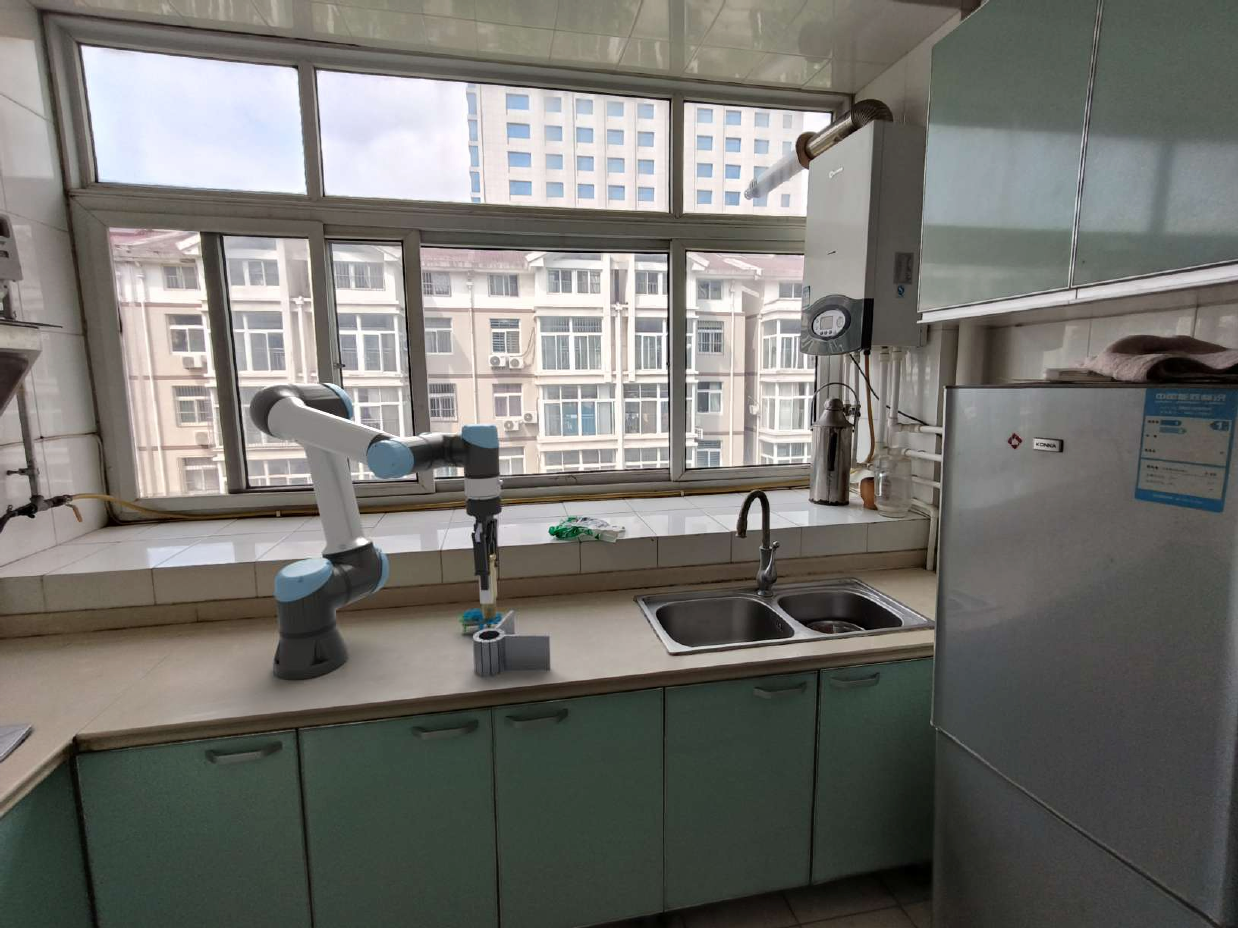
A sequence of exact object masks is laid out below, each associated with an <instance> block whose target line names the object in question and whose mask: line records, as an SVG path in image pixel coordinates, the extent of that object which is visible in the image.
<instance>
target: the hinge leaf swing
mask: <svg viewBox="0 0 1238 928" xmlns="http://www.w3.org/2000/svg"><path fill="white" fill-rule="evenodd" d="M494 628H496V629H501V630H503V631H504V632H505V633H506V634H516V633H515V631H516V630H515V611H514V610H510V611H508V613H506V615H505V616H504V617H503V618H502V620H501V621H500V622H499V621H498V624H496V625H495V626H494Z"/></svg>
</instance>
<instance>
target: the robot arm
mask: <svg viewBox="0 0 1238 928" xmlns="http://www.w3.org/2000/svg"><path fill="white" fill-rule="evenodd" d="M248 408H249V409H248V410H249V417H250V419H251V422H252V424H253V425H254V427H256V428H257V429H258V430H259V431H261V432H262V433H263V434H265V435H267V436H270V437H273V438H275V439H278V440H282V441H290V440H294V441H295V444H297V445H299V446H301V447H302V448H303V449H304V453H305V457H306V461H307V465H308V469H309V474H310V478H311V483H312V486H313V491H314V494H315V495H314V496H315V499H316V504H317V508H318V512H319V513H318V514H319V517H320V522H321V524H322V529H323V534H324V538H325V543H326V545H325V547H324V548H323V550H322V551H321V556H322V557H312V558H311V557H310V558H307V559H304V560H303V559H302V560H298V561H296V562H293V563H290V564H288V565H286V566H284V567H283V568H282V569H280V570H279V571H278V573H277V574H276V575H275V579H274V590H273V591H274V592H273V596H274V598H275V606H276V615H277V625H278V633H279V634H278V636H279V638H278V641H277V642H278V643H277V645H276V649H275V654H274V658H273V661H272V666H273V674H274V675H275V676H276V677H278V678H280V679H284V680H294V681H295V680H303V679H304V680H305V679H310V678H314V677H315V678H316V677H318V676H322V675H324V674H327V673H330V672H333V671H334V670H336V669H337V668H339V667H341V666H342V665H343V664H345V662H346V661H347V660H348V658H349V657H348V656H349V653H348V646H347V643H346V641H345V640H344V637H343V635H342V633H341V631H340V629H339V627H338V623H337V610H339V609H340V608H344V607H345V606H347V605H350V604H351V603H354V602H356V601H358V600H361V599H363V598H367V597H369V596H372V594H374V593H376V592H378V591H379V590H380V589H382V588H383V587H384V585H385V583H386V582H387V580H388V577H389V574H390V573H389V572H390V571H389V570H390V567H389V565H390V564H389V560H388V557H387V556H386V554H385V553H384V552H383V550H382V549H381V548H379V547H378V546H375V545H374V542H373V540H372V539H371V538H369V537H368V536H366V534H365V532H364V527H363V524H362V519H361V515H360V511H359V506H358V502H357V497H356V494H355V493H356V492H355V489H354V485H353V484H354V483H353V480H352V475H351V472H350V467H349V463H348V459H349V460H351V461H354V462H358V463H361V464H362V465H366V466H367V467H368V469H369V471H370V472H372V473H373V475H374V476H375V477H376V478H378V479H382V480H390V479H394V480H395V479H400V478H404V477H405V476H410V475H414V474H419V473H421V472H427V471H432V470H436V469H440V468H441V469H442V468H461V469H462V468H463V475H464V476H463V479H464V480H463V481H464V495H465V496H467V497H466V498H465V510H466V511H465V512H466V515H468V516H469V517H474V518H475V519H474V521H475V523H473V531H474V532H471V534H470V537H471V540H472V547H473V549H472V551H473V560H474V561H473V562H474V572H473V575H474V576H478V587H479V588H478V589H479V603H480V604H481V605H482V604H488V603H493V585H492V574H490V573H491V572H490V553H494V554H496V559H495V560H494V569H495V589H496V598H497V597H498V587H497V586H498V585H497V568H499V567H500V562H499V555H498V518H496V517H494V516H497V515H500V513H502V511H503V510H502V509H503V505H502V503H503V502H502V497H501V495H500V494H501V493H502V491H501V489H502V487H501V485H503V484H504V481H503V480H502V479H501V472H500V442H499V433H498V427H497V426H496V425H495V424H493V423H487V422H486V423H468V424H464V425H463V426H462V427H461V432H440V431H427V432H421V433H420V434H419V435H414V436H405V437H401V436H397V435H394V434H392V433H391V434H390V433H387V432H385V431H384V430H380V429H377V428H374V427H370V426H367V425H365V424H361V423H358V422H355V421H353V417H354V406H353V403H352V400H351V398H350V396H349V395H348V393H346V391H345V390H344V389H343V388H341V387H340V386H338V385H336V384H333V383H324V382H318V381H317V382H300V383H296V382H295V383H273V384H270V385H267V386H264V387H263V388H261V389H260V390H258V391H257V392H256V393H255V394H254V395H253V397H252V399H251V401H250V405H249V407H248Z"/></svg>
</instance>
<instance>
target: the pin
mask: <svg viewBox="0 0 1238 928" xmlns="http://www.w3.org/2000/svg"><path fill="white" fill-rule="evenodd" d="M495 559H496V554H494V553H490V572H491V573H490V574H492V585H493V603H488V604H481V606H482V607H481V608H482V611H483V618H484V619H494V618H496V617H497V614H498V612H497V597H496V589H495V569H494V568H495V567H494V560H495Z"/></svg>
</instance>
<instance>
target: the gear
mask: <svg viewBox="0 0 1238 928" xmlns="http://www.w3.org/2000/svg"><path fill="white" fill-rule="evenodd" d="M502 619H503V618H502V614H501V612H499V613H498V612H497V617H496V618H494V619H484V618H483V610H480V608H476V607H475V608H474V609H473V610H472V609H471V610H470V609H467V610H466V612H463V613H462V616H461V615H460V616H459V618H458V622H459V623H461V626H462V628H463V629H462V636H466V633H467V632H466V631H467V627H476V626H477V627H478V626H479V627H478V631H480V630H484V626H485V625H486V626H487V627H490V626H492V624H494V625H498V623H499V622H500V621H501V620H502Z"/></svg>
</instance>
